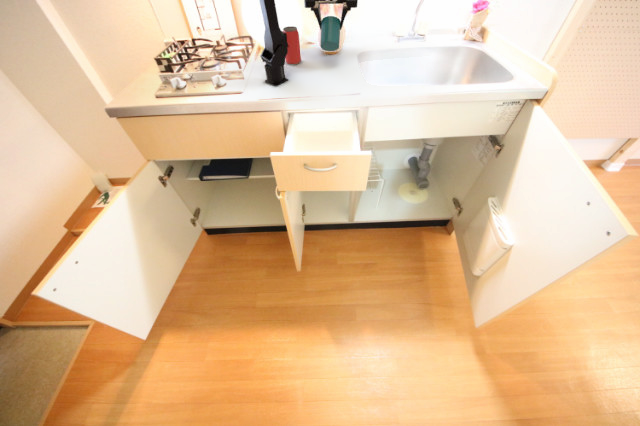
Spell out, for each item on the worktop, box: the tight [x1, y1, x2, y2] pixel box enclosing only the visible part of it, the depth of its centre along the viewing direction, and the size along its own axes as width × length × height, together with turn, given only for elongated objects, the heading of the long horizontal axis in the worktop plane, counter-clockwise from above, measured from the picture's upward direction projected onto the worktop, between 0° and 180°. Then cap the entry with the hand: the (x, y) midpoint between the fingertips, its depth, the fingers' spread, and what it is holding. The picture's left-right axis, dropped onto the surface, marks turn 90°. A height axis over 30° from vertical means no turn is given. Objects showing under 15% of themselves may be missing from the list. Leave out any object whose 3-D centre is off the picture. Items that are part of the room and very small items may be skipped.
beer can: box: [282, 26, 302, 65], centre depth 99 cm, size 7×7×12 cm
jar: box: [320, 15, 341, 52], centre depth 91 cm, size 7×7×8 cm
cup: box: [316, 24, 346, 55], centre depth 106 cm, size 12×12×10 cm
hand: (330, 29), depth 92 cm, fingers closed on jar, 7 cm apart
